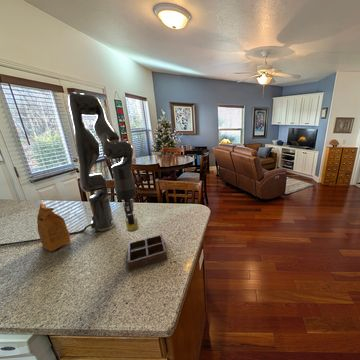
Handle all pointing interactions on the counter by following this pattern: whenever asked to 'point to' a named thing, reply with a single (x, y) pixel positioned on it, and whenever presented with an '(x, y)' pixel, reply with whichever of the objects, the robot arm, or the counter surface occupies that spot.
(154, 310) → the counter surface
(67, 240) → the coffee package
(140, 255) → the grid
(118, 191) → the robot arm
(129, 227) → the supplement bottle
